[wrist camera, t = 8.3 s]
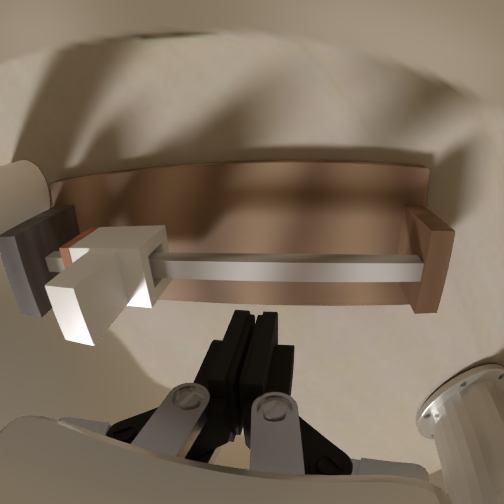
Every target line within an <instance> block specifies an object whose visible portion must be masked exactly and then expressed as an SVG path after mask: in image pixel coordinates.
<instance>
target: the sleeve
mask: <svg viewBox="0 0 504 504" xmlns="http://www.w3.org/2000/svg"><path fill="white" fill-rule="evenodd" d="M69 251H70V255H71V259H72V264H71V265H69V266H68V267H67V268H66V269H64V270H63V271H62V272H61V273H59V274H58V275H57V276H56V277H54V278H53V279H52V280H51V281H49V282H48V283H47V284H46V285H44V286H45V288H46V291H47V294H48V297H49V300H50V302H51V305H52V308H53V310H54V313H55V316H56V318H57V321H58V323H59V325H60V328H61V330H62V333H63V335H64V337H65V339H66V340H70V341H74V342H79V343H83V344H88V345H93V346H95V344H96V343H97V342H98V340H99V339H100V338H101V337H102V335H103V334H104V333H105V331H106V330H107V329H108V328H109V326H110V325H111V324H112V323H113V322H114V320H115V319H116V318H117V317H118V315H119V314H120V313H121V312H122V310H123V309H124V308H125V307H126V306H136V307H147V308H152V307H153V306H154V304H155V303H156V302H157V300H158V299H159V297H160V296H161V295H162V293H163V292H164V290H165V289H166V288H167V286H168V285H169V283H170V282H171V281H172V279H173V278H152V274H151V269H150V264H149V258H148V256H149V255H150V254H151V253H152V252H169V247H168V241H167V234H166V227H165V225H154V226H119V227H99V228H98V229H96V230H95V231H93V232H92V233H90V234H89V235H87V236H86V237H84V238H83V239H81V240H80V241H78V242H77V243H75V244H74V245H72V246H71V247H69Z"/></svg>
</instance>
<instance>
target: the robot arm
mask: <svg viewBox="0 0 504 504" xmlns="http://www.w3.org/2000/svg"><path fill="white" fill-rule="evenodd" d="M293 365H294V345H278V313H277V312H263V315H258V317H257V320H256V324H255V316H254V315H251V314H250V311H244V310H235V312H234V314H233V316H232V319H231V321H230V324H229V326H228V329H227V331H226V334H225V336H224V338H223V341H221V340H213V341H212V343H211V345H210V347H209V349H208V352H207V354H206V356H205V358H204V360H203V363H202V365H201V367H200V369H199V372H198V374H197V376H196V378H195V380H194V383H184V384H181V385H178V386H176V387H175V388H173V389H172V390H171V391H170V392H169V394H168V395H167V396H166V398H165V399H164V401H163V402H162V403H161V405H160V406H159V407H158V408H155V409H152V410H150V411H147V412H145V413H142V414H139V415H136V416H134V417H131V418H128V419H125V420H123V421H120V422H118V423H116V424H114V425H110V424H109V422H100V421H92V420H84V419H78V418H71V417H63V418H60V419H55V418H50V417H46V416H35V415H25V416H20V417H17V418H15V419H14V420H12V421H11V422H9V423H8V424H7V425H6V426H5V427H4V428H3V429H2V430H1V431H0V504H504V367H503V366H502V365H498V364H487V365H482V366H478V367H475V368H472V369H470V370H468V371H466V372H464V373H462V374H460V375H458V376H456V377H455V378H453V379H451V380H450V381H449V382H447V383H446V384H444V385H443V386H442V387H441V388H439V389H438V390H437V391H436V392H435V393H434V394H433V395H432V396H431V397H430V398H429V399H428V400H427V401H426V402H425V404H424V405H423V406H422V408H421V409H420V411H419V413H418V416H417V427H418V431H419V433H420V434H421V435H422V436H424V437H425V438H428V439H434V440H435V443H436V447H437V451H438V455H439V459H440V463H441V467H442V472H443V476H444V481H445V485H446V490H447V493H446V492H445V491H444V490H443V489H442V488H440V487H438V486H436V485H434V484H432V483H429V474H428V472H427V471H426V469H425V468H423V467H422V466H421V465H417V464H413V463H401V462H391V461H382V460H374V459H367V458H361V460H356V459H350V458H349V457H348V455H347V454H346V453H344V452H343V451H342V450H340V449H339V448H338V447H336V446H335V445H334V444H333V443H331V442H330V441H329V440H328V439H326V438H325V437H324V436H323V435H321V434H320V433H319V432H318V431H316V430H315V429H314V428H313V427H311V426H310V425H309V424H308V423H307V422H305V421H304V420H303V419H302V418H301V417H299V414H298V406H297V403H296V401H295V400H294V399H293V398H292V397H291V387H292V378H293ZM242 428H243V429H244V435H245V443H246V446H247V447H248V448H249V449H250V470H247V469H239V468H231V467H225V466H220V465H214V462H215V460H216V458H217V456H218V455H219V452H220V449H221V445H224V444H226V443H227V442H228V441H232V442H234V439H235V435H240V434H241V432H242Z"/></svg>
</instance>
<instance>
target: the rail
mask: <svg viewBox="0 0 504 504" xmlns="http://www.w3.org/2000/svg"><path fill="white" fill-rule="evenodd" d="M429 174H430V169H429V168H427V167H424V166H419V165H407V164H394V163H379V162H360V161H330V160H263V161H233V162H213V163H197V164H184V165H172V166H161V167H150V168H141V169H132V170H124V171H116V172H108V173H101V174H94V175H87V176H81V177H74V178H68V179H62V180H57V181H55V182H52V183H49V186H50V192H51V197H52V203H53V207H52V208H50V209H48V210H46V211H44V212H42V213H40V214H38V215H36V216H34V217H32V218H30V219H28V220H26V221H24V222H22V223H20V224H19V225H17V226H15V227H13V228H11V229H9V230H8V231H6V232H4V233H2V234H0V255H1V258H2V261H3V264H4V267H5V270H6V273H7V276H8V279H9V282H10V285H11V287H12V290H13V293H14V296H15V298H16V301H17V303H18V306H19V308H20V310H21V313H23V314H28V315H32V316H37V317H43V316H44V315H45V314H46V313H47V312H48V311H49V310H50V309H51V308H52V305H51V302H50V300H49V297H48V294H47V291H46V288H45V286H44V285H46V284H47V283H48V282H49V281H51V280H52V279H53V278H54V277H56V276H57V275H58V274H59V273H61V272H62V271H63V270H64V269H66V268H67V267H68V266H69V265H71V264H72V259H71V255H70V251H69V247H71V246H72V245H74V244H75V243H77V242H78V241H80V240H81V239H83V238H84V237H86V236H87V235H89V234H90V233H92V232H93V231H95V230H96V229H98V228H99V227H119V226H154V225H165V227H166V234H167V241H168V247H169V252H152V253H151V254H150V255H149V256H148V258H149V264H150V269H151V274H152V278H173V279H172V281H171V282H170V283H169V285H168V286H167V288H166V289H165V290H164V292H163V293H162V295H161V296H160V297H159V299H161V300H176V301H193V302H212V303H234V304H263V305H323V306H346V305H404V304H410V305H411V307H412V309H413V311H414V313H415V314H418V313H437V310H438V306H439V303H440V299H441V295H442V292H443V288H444V284H445V280H446V275H447V271H448V266H449V262H450V257H451V252H452V247H453V242H454V236H455V231H454V230H453V229H452V228H451V227H449V226H448V225H447V224H446V223H444V222H443V221H442V220H441V219H439V218H438V217H437V216H436V215H434V214H433V213H432V212H430V211H429V210H428V209H427V208H426V207H427V198H428V187H429Z"/></svg>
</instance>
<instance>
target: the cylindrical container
mask: <svg viewBox="0 0 504 504" xmlns="http://www.w3.org/2000/svg"><path fill="white" fill-rule="evenodd" d="M48 209H50V195H49V190H48V186H47V183H46V180H45V178H44V176H43V174H42V172H41V171H40V170H39V168H38V167H37V166H36V165H35V164H33V163H32V162H30V161H28V160H20V161H16V162H13V163H10V164H6V165H3V166H0V234H2V233H4V232H6V231H8V230H9V229H11V228H13V227H15V226H17V225H19V224H20V223H22V222H24V221H26V220H28V219H30V218H32V217H34V216H36V215H38V214H40V213H42V212H44V211H46V210H48Z"/></svg>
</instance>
